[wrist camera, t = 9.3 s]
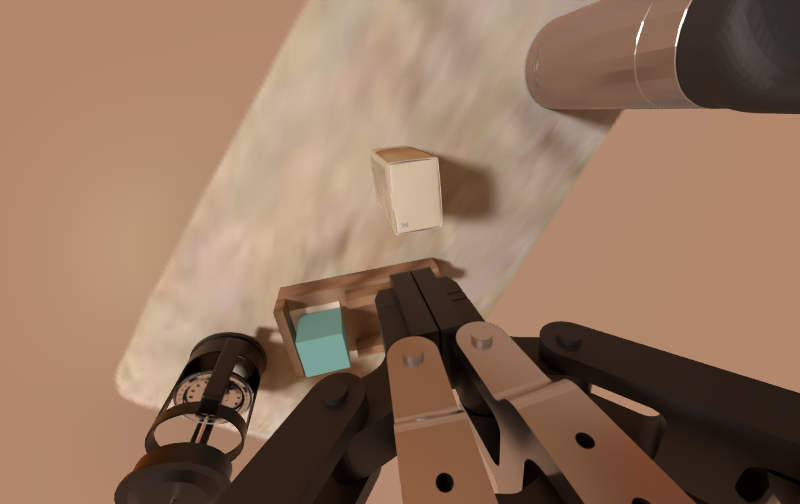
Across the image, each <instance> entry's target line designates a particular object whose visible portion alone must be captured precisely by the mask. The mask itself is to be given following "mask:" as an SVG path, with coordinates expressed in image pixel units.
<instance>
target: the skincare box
mask: <svg viewBox="0 0 800 504" xmlns="http://www.w3.org/2000/svg"><path fill="white" fill-rule="evenodd" d="M371 161H372V169H373V176H374V182H375V188H376V194H377V199H378V203H379V204H380V206H381V208H382V210H383V212H384V214H385V215H386V217H387V219H388V221H389V223H390V225H391V226H392V228H393V230H394V232H395V234H396V235H401V234H408V233H414V232H420V231H425V230H430V229H435V228H439V227H442V199H441V184H440V173H439V163H438V158H437V157H435V156H432V155H429V154H427V153H424V152H421V151H419V150H416V149H413V148H411V147H408V146H398V147H389V148H381V149H374V150H371Z"/></svg>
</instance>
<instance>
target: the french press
mask: <svg viewBox="0 0 800 504" xmlns="http://www.w3.org/2000/svg"><path fill="white" fill-rule="evenodd" d="M215 352H221V354H220V356H219V359H218V361H217V363H216V365H215V368H214V369H208V370H203V368H202V366H201V356H203V355H206V354H209V353H215ZM238 355H239V356H242V357H244V358H246V359H247V360H249V361H250V362H251V363H252V364H253V365H254V366H255V369H254V371H253V372H252V373H251V374H250V375H249V376H247V377H245V378H243V377H241V376H240V375H238V374H236V373H234V372H232V371H233V369H234V366H235V363H236V361H237V358H238ZM266 363H267V359H266V354H265V351H264V350H263V348H262V347H261V345H260V344H259V343H258V342H256V341H255V340H253V339H252V338H250V337H248V336H245V335H242V334H238V333H219V334H214V335H211V336H208V337H206V338H205V339H203V340H201V341H200V342H199V343H198V344H197V345H196V346H195V347H194V349H193V350H192V352H191V355H190V359H189V361H188V363H187V365H186V366H185V368H184V370H183V372H182V373H181V375H180V377H179V379H178V381H177V382H176V384H175V386H174V388H173V389H172V391H171V393H170V395H169V397H168V398H167V400H166V402H165V404H164V405H163V407H162V409H161V411H160V413H159V414H158V416H157V418H156V420H155V421H154V423H153V425H152V427H151V429H150V430H149V432H148V434H147V437H146V439H145V448H146V452H147V454H146V455H144V456H143V457H142V458H141V459H140V460H139V461H138V463H137V464H136V466H135V468H134V470H133V471H132V472H131V473H130V474H128V475H127V476H126V477H124V479H123V480H122V481H121V482H120V484H119V485H118V487H117V489H116V492H115V497H114V501H115V504H214V503H215V501H216V500H217V499H218V498H219V497H220V496H221V494H222V493H223V492H224V491H225V490H226V489H227V487H228V486H229V485H230V484H231V481H230V477H231V473H232V464H231V462H232V461H233V460H234V459H235V458H236V457H237V456H238V455H239V454H240V453H241V451H242V449H243V446H244V442H245V438H246V434H247V430H248V426H249V423H250V419H251V415H252V411H253V407H254V403H255V399H256V395H257V391H258V388H259V384H260V380H261V376H262V374H263V372H264V370H265V367H266ZM253 393H254V396H253ZM172 398H173V400H174V404H175V406H173V407H171V408H169V409H168V410H166V409H167V408H168V406H169V404H170V402H171V400H172ZM249 409H250V411H249V415H248V418H247V422H246V423H245V420H244V419H243V418H242V416H243V415H244V414H245V413H246V412H247V411H248V410H249ZM180 415H183V416H185V417H186V418H188V419H190V420H192V421H195V422H198V424H197V427H196V429H195V432H194V434H193V436H192V439H191V441H190V442H183V443H173V444H168V445H164V446H161V447H160V446H159V445H158V443H157V442H156V440H155V438H154V431H155V430H156V428H157V426H158V425H159V424H160V423H162V422H164V421H165V420H168V419H170V418H173V417H176V416H180ZM228 422H231V423H232V424H233V425H234V426H235V427H236V428H237V429H238V430H239V432H240V434H241V436H242V441H241V443H240V444H239V445H238V446H237V447H236V448H235V449H233V450H232V451H230V452H228V453H226V454H224V453H223V452H221V451H220V450H218V449H216V448H214V447H212V446H209V445H207V442H208V439H209V436H210V433H211V431H212V428H213V426H214V424H223V423H228Z"/></svg>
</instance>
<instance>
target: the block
mask: <svg viewBox="0 0 800 504" xmlns="http://www.w3.org/2000/svg"><path fill="white" fill-rule="evenodd" d="M295 344H296V347H297V350H298V353H299V356H300V359H301V362H302V365H303V368H304V371H305V374H306V377H311V376H315V375H320V374H324V373H328V372H332V371H336V370H341V369H345V368H349V367H350V355H349V343H348V336H347V332H346V328H345V324H344V319H343V315H342V311H341V308H336V309H332V310H327V311H322V312H317V313H313V314H308V315H303V316H299V323H298V330H297V336H296V343H295Z"/></svg>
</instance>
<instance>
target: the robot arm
mask: <svg viewBox="0 0 800 504" xmlns="http://www.w3.org/2000/svg"><path fill="white" fill-rule="evenodd" d="M526 82H527V86H528V89H529V91H530V94H531V96H532V97H533V98H534V100H535V101H536V102H537V103H539V104H540V105H541V106H543V107H546V108H548V109H677V108H679V109H680V108H710V109H720V108H725V109H726V108H727V109H731V110H736V111H740V112H750V113H776V114H779V113H780V114H800V0H601V1H598V2H596V3H593V4H591V5H588V6H586V7H583V8H581V9H578V10H576V11H573V12H571V13H568V14H566V15H564V16H561V17H559V18H556V19H555V20H553V21H551V22H550V23H548V24H547V25H546V26H545V27H544V28H543V29H542V30H541V31H540V33H539V34H538V35H537V37H536V38H535V40H534V42H533V44H532V46H531V48H530V51H529V54H528V57H527V62H526ZM389 276H390V284H391V288H389V289H384V290H379V291H378V293H377V295H376V298H375V305H376V311H377V316H378V322H379V327H380V333H381V337H382V342H383V346H384V350H385V358H384V360H383V362H382V363H381V365H380V366H379V367H378V368H377V369H376V370H374V371H373V372H371V373H370V374H368V375H366V376H364V377H363V378H361V379H360V378H359V377H358V376H356V375H354V374H351V373H336V374H332V375H329V376H327V377H325V378H324V379H322V380H320V381H319V382H318V383H317V384H316V385H315V386H314V387H313V388H312V389H311V390H310V392H309V393H308V394H307V395H306V396H305V397H304V399H303V400H302V401H301V402H300V403H299V404H298V406H297V407H296V408H295V409H294V410H293V411H292V413H291V414H290V415H289V416H288V417H287V418H286V420H285V421H284V422H283V423H282V424H281V425H280V427H279V428H278V429H277V430H276V431H275V432H274V434H273V435H272V436H271V437H270V438H269V439H268V441H267V442H266V443H265V444H264V445H263V446H262V448H261V449H260V450H259V451H258V452H257V453H256V455H255V456H254V457H253V458H252V459H251V461H250V462H249V463H248V464H247V465H246V466H245V467H244V469H243V470H242V471H241V472H240V473H239V475H238V476H237V477H236V478H235V479H234V480H233V482H232V483H231V484H230V485H229V486H228V487H227V489H226V490H225V491H224V492H223V493H222V494H221V496H220V497H219V498H218V499H217V500H216V501H215V503H214V504H365V503H366V501H367V498H368V497H369V495H370V493H371V491H372V489H373V486H374V485H375V482H376V481H377V479H378V477H379V474H380V471H381V466H383V465H384V464H386V463H387V462H389V461H390V460H391V459H393V458H394V457H396V456H397V458H398V467H399V476H400V484H401V493H402V501H403V504H800V393H797V392H794V391H791V390H787V389H784V388H781V387H778V386H775V385H772V384H768V383H765V382H762V381H759V380H755V379H752V378H749V377H746V376H742V375H739V374H736V373H733V372H730V371H726V370H723V369H720V368H716V367H713V366H710V365H707V364H704V363H701V362H697V361H694V360H691V359H688V358H685V357H681V356H678V355H675V354H672V353H668V352H665V351H662V350H659V349H656V348H652V347H649V346H646V345H643V344H639V343H636V342H633V341H630V340H626V339H623V338H620V337H616V336H614V335H610V334H607V333H603V332H601V331H597V330H594V329H591V328H588V327H584V326H581V325H578V324H575V323H571V322H562V321H560V322H552V323H549V324H547V325H545V326H544V327H542V329H541V331H540V337H512V336H509V335H508V334H507V333H505V331H504V330H503V329H502V328H500V327H499V326H497V325H495V324H492V323H488V322H485V321H484V319H483V318H482V316H481V315H480V314H479V312H478V311H477V310H476V308H475V307H474V306H473V304H472V303H471V302H470V300H469V299H467V296H466V295H465V293H464V292H462V289H461V288H460V287H459V285H458V284H457V282H455V281H453V280H451V279H449V278H448V277H441V278H437V277H436V276H435V274H434V273H433V271H432V269H431V268H430V267H424V268H420V269H415V270H410V272H409V271H405V272H400V273H395V274H390V275H389ZM592 384H594V385H596V386H598V387H601V388H603V389H606V390H608V391H611V392H613V393H616V394H618V395H621V396H623V397H625V398H628V399H631V400H633V401H635V402H638V403H641V404H643V405H645V406H648V407H650V408H652V409H654V410H656V411H657V412H659V413H660V414H659V415H658V416H645V415H642V414H640V413H637V412H635V411H633V410H630V409H628V408H625V407H623V406H621V405H618V404H616V403H614V402H611V401H609V400H606V399H604V398H602V397H599V396H597V395H595V394H592V393H591V388H592ZM452 389H456V391H457V394H458V396H459V406H460V410H459V409H458V406H457V403H456V400H455V398H454V395H453V391H452ZM477 444H478V446H479V448H480V450H481V452H482V454H483V456H484V458H485V459H486V462H487V463H488V465H489V467H490V469H491V471H492V473H493V475H494V478H495V480H496V483H497V486H498V491H499V494H495V493H494V491H493V488H492V486H491V482H490V480H489V477H488V474H487V471H486V468H485V466H484V463H483V460H482V457H481V454H480V452H479V449H478V446H477Z"/></svg>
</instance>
